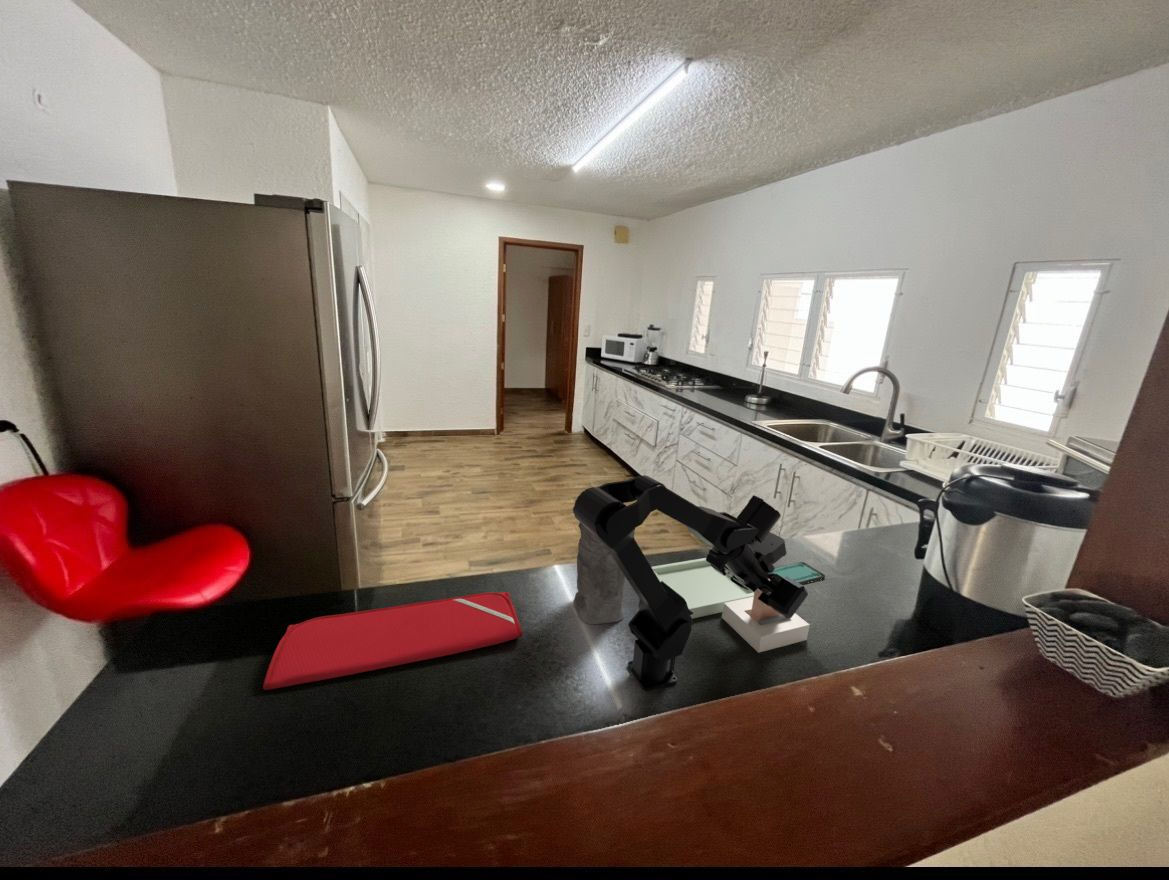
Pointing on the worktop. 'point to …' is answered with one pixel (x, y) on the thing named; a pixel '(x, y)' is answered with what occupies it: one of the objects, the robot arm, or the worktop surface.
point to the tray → (701, 586)
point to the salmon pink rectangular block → (761, 608)
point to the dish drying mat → (390, 637)
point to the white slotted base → (764, 626)
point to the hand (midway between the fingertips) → (771, 596)
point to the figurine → (597, 582)
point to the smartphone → (799, 572)
